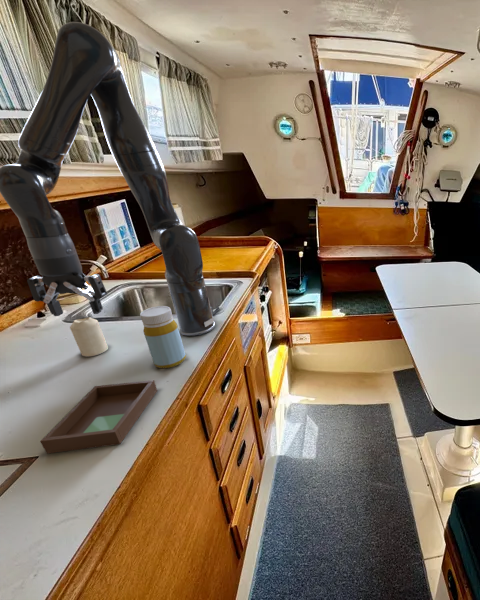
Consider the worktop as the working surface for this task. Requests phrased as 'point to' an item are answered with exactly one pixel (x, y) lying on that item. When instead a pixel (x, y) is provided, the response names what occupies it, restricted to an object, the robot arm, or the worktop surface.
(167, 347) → the bottle
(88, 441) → the tray
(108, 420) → the corner tile
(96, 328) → the candle
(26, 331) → the worktop surface
